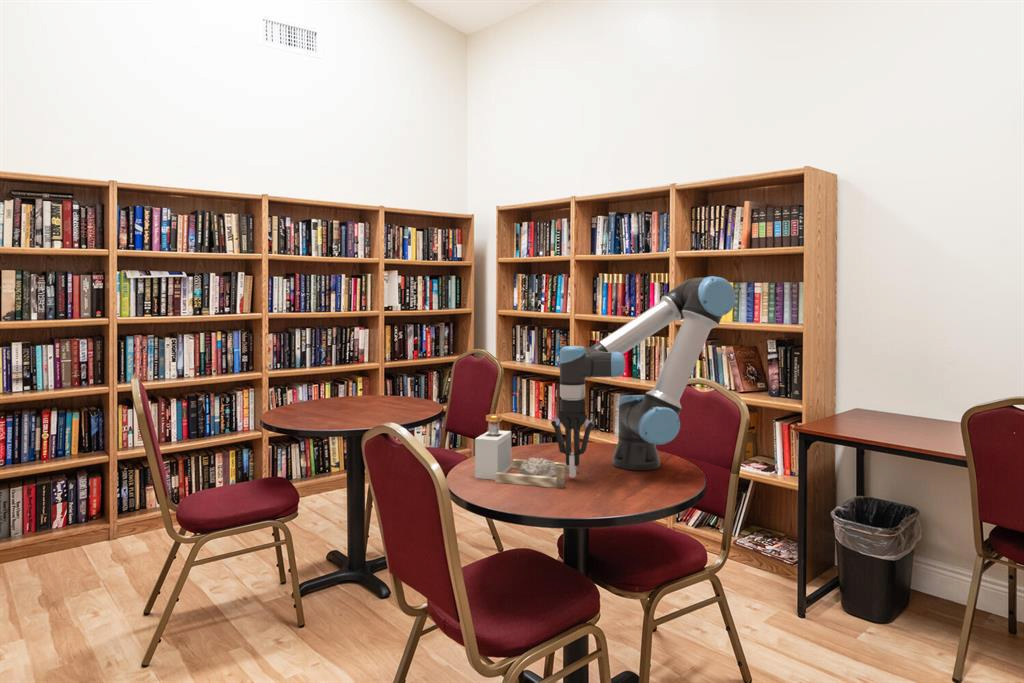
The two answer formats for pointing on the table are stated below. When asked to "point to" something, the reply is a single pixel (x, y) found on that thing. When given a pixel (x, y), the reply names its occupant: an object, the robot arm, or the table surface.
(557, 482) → the track
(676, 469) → the table surface
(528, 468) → the rock
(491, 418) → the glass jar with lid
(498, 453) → the white button box
